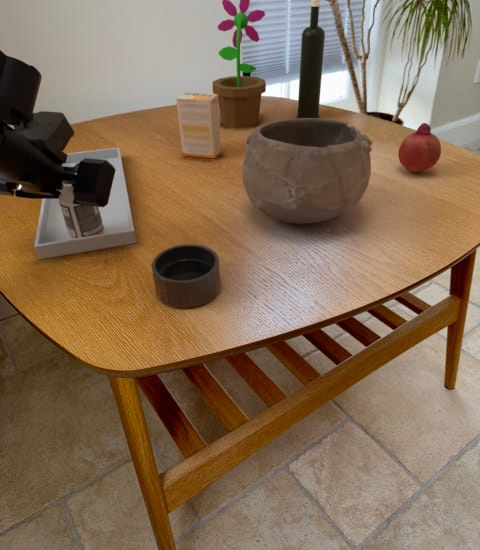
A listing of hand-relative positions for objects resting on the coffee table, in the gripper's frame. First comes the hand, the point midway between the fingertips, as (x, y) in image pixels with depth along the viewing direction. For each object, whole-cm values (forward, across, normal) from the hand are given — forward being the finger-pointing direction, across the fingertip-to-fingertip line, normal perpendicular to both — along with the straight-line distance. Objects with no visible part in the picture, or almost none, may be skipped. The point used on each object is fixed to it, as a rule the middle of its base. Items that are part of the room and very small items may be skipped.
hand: (83, 197), depth 70 cm
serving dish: (+13, +8, -3) cm, 15 cm away
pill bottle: (+4, 0, +6) cm, 7 cm away
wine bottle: (+54, -26, -45) cm, 75 cm away
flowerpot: (+49, -8, -40) cm, 64 cm away
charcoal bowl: (-2, -22, +12) cm, 25 cm away
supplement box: (+32, -6, -22) cm, 39 cm away
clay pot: (+16, -33, -6) cm, 37 cm away
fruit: (+32, -53, -22) cm, 66 cm away
